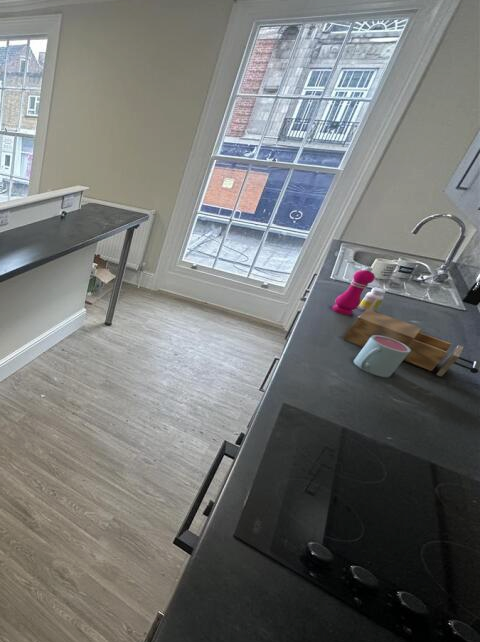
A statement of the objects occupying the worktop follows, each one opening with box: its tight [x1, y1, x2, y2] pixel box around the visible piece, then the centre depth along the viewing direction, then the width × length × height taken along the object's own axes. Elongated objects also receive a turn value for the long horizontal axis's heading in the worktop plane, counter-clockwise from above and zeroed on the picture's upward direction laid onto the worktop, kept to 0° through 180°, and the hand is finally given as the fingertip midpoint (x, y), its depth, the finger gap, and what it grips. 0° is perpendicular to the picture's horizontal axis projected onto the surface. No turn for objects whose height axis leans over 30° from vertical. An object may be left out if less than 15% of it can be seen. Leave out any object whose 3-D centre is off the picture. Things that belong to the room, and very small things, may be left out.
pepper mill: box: [331, 266, 376, 316], centre depth 158 cm, size 7×7×20 cm
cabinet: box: [343, 309, 422, 348], centre depth 139 cm, size 15×13×10 cm
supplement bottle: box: [358, 287, 387, 312], centre depth 164 cm, size 5×5×10 cm
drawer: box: [403, 331, 480, 378], centre depth 130 cm, size 19×11×8 cm, turn 36°
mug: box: [353, 335, 411, 378], centre depth 124 cm, size 14×9×10 cm
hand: (471, 299), depth 121 cm, fingers open, 9 cm apart
